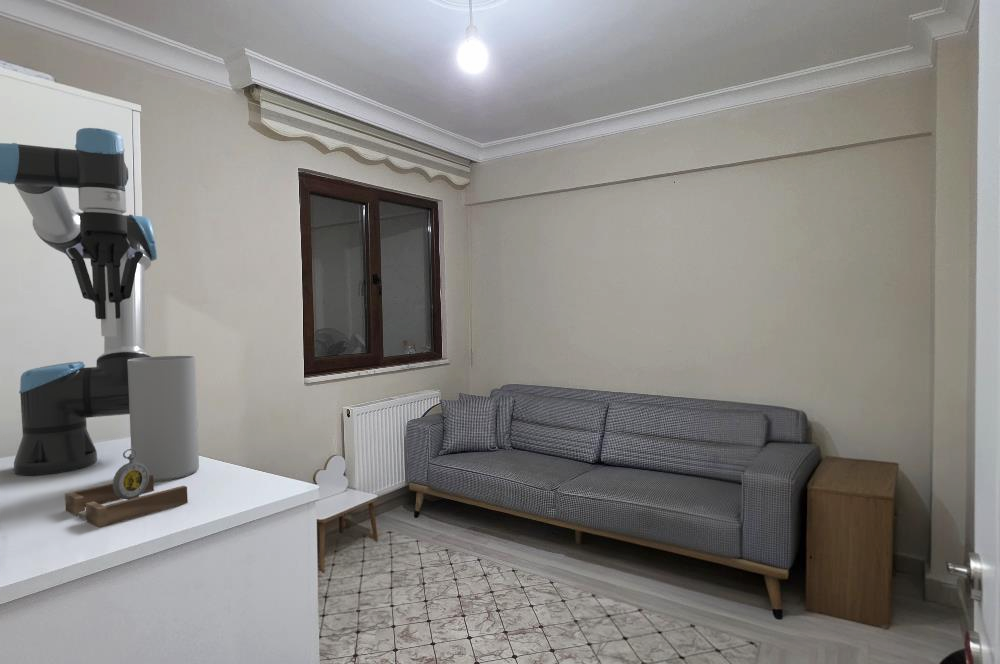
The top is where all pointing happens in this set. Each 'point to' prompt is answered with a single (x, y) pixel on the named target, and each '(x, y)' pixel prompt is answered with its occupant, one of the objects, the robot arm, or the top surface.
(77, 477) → the top surface
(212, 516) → the top surface
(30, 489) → the top surface
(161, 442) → the cylinder vase
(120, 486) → the pocket watch
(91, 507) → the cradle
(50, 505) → the top surface
